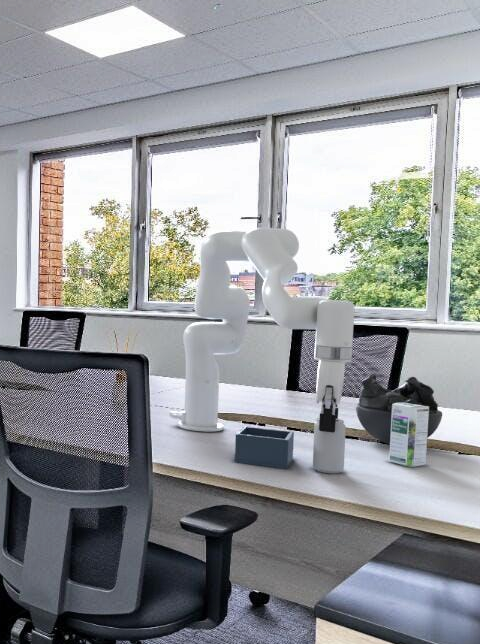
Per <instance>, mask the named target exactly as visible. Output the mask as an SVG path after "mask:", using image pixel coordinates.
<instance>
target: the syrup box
mask: <svg viewBox="0 0 480 644" xmlns="http://www.w3.org/2000/svg"><path fill="white" fill-rule="evenodd" d="M428 416H429V406H421V405H415V404H409V403H394V404H392V415H391V436H390V444H389V451H388V452H389V454H388V462H389V463H394V464H397V465H401V466H404V467H405V466H406V467H409V468H414V467H422V466H426V464H427V463H426V462H427V448H428V438H427V432H428Z"/></svg>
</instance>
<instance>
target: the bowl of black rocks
mask: <svg viewBox="0 0 480 644" xmlns="http://www.w3.org/2000/svg"><path fill="white" fill-rule="evenodd" d="M404 381H405V383H403V384H402V385H401V386H399V387H397V388H395V389H394V390H390V389H388V388H387V389H386V388H384V387H383V386H382V385H381V384H380V383H379V382H378V381H377V375H376V374H375V373H370V374H369V375H368V376H367V377H366V378H364V379H363V380H362V381H361V383H360V384H361V385H362V387H361V389H360V394H359V397H358V402H357V403H356V405H355V412H356V416H357V418H358V422H359V423H360V425H361V426H362V428H363V429H364V430H365V432H367V433H368V434H369V435H370V436H372V437H373V438H374V439H376V440H378V441H379V442H381V443H384V444H387V445H390V436H391V415H392V404H394V403H409V404H415V405H421V406H429V416H428V432H427V439H428V438H430V437H431V436H432V435H433V434H434V433H435V432H436V430H437V429H438V428H439V426H440V425H441V422H442V419H443V412H442V411H441V410H438V409H439V408H438V407H439V404H438V403H437V401H436V400H435V398H434V393H435V390H434V389H433V388H432V387H431V386H430V385H427V384H425V383H423V382H422V381H419V380H418V378H417V377H416V376H410V377H408V378H407V379H406V380H404Z"/></svg>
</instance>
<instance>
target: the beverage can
mask: <svg viewBox="0 0 480 644" xmlns="http://www.w3.org/2000/svg"><path fill="white" fill-rule="evenodd" d="M315 420H316V421H314V427H313V447H312V450H313V451H312V468H314V469H315V470H316V471H317V472H319V473H323V474H324V473H325V474H340V473H341V472H343V471H344V470H345V449H346V425H345V420H344V419H340V418H338V419H336V424H335V432H334V433H332V432H324V431H319V420H320V417H317V418H316V419H315Z"/></svg>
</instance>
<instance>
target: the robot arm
mask: <svg viewBox="0 0 480 644" xmlns="http://www.w3.org/2000/svg"><path fill="white" fill-rule="evenodd" d="M299 249H300V242H299V239H298V237H297V235H296V234H295V233H294V231H292V230H290V229H287V228H276V227H256V228H252V229H250V230H248V231H241V230H240V231H239V230H218V231H217V230H216V231H212V232H211V233H209V234H207V235H206V236H205V237H204V239H203V240H202V242H201V245H200V248H199V262H200V263H199V275H198V280H197V287H196V291H195V298H194V313H195V314H196V315H197V316H198V318H202V319H205V320H206V319H207V320H222V322H217V321H216V322H215V321H200V322H194V323H191V324H189V325H188V326H187V327H186V328H185V330H184V332H183V334H182V335H183V336H182V338H183V339H182V340H183V346H184V353H185V354H184V355H185V383H184V384H185V385H184V388H185V389H184V410H182V411H180V412H178V411H172V410H171V411H170V413H169V418H171V419H176V420H180V421H179V422H178V427H179V428H181V429H184V430H187V431H192V432H193V431H194V432H202V433H203V432H205V433H206V432H208V433H209V432H210V433H212V432H213V433H214V432H221V431H223V430H224V425H223V424H222V423H219V395H220V367H219V363H218V362H217V360H216V359H215V356H214V355H232V354H235V353H238V352H239V351H240V350H241V348H242V346H243V344H244V339H245V337H246V336H245V335H246V331H247V325H248V321H249V315H250V310H251V309H250V307H251V306H250V304H251V303H250V298H249V295H248V293H247V291H246V290H244V289H243V288H241V287H237V286H230V281H231V269H230V266H229V264H228V262H233V263H235V262H236V263H251V264H252V265H253V267H254V268H255V270H256V271H257V273H258V274H259V275H260V277H261V278H262V279H263V283H262V288H261V297H262V303H263V306H264V308H265V310H266V311H267V312H268V314H269V315H270V317H271V318H272V319H273V322H275V323H276V324H277V325H278V326H280V327H282V328H283V329H287V330H315V341H314V343H315V344H314V357H313V359H314V360H315V361H318V366H317V376H316V387H315V388H316V389H315V392H316V393H315V399H314V402H315V403H316V404H319V403H321V408H320V413H319V418H320V420H319V431H324V432H332V433H334V432H335V424H336V419H339V405H340V403H341V399H342V396H343V391H344V390H343V389H344V383H345V369H346V363H351V362H352V355H353V342H354V341H353V339H354V323H355V309H356V307H355V305H354V302H352V301H350V300H343V299H342V300H341V299H328V298H323V297H296V296H295V297H292V296H291V295H290V294H289V293H288V291H286V289H285V287H284V286H285V285H287V284H288V283H289V282H291V281H292V280H293V279H294V278H295V277H296V275H297V273H298V270H299V269H298V263H297V262H296V261H295V260H294V257H296V255H297V254H298V252H299Z"/></svg>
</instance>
